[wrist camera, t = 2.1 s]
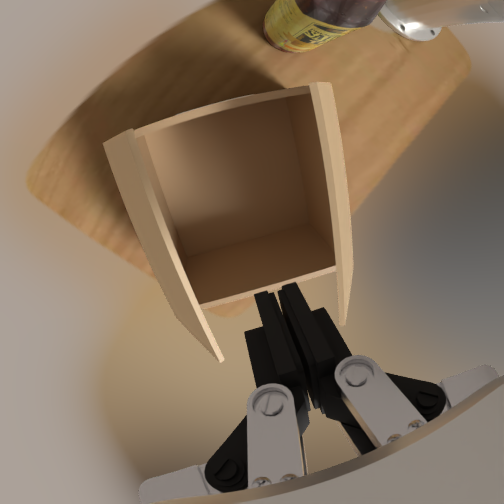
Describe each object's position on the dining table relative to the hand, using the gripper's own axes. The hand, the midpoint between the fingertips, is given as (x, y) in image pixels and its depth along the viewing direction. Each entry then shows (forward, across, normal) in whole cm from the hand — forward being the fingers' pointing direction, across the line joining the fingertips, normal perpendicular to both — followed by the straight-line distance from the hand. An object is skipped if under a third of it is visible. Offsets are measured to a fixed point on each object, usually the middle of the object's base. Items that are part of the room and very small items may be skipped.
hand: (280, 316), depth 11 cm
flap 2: (+8, -6, 0) cm, 11 cm away
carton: (+22, 0, 0) cm, 22 cm away
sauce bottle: (+22, -10, -16) cm, 29 cm away
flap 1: (+9, +6, 0) cm, 10 cm away
